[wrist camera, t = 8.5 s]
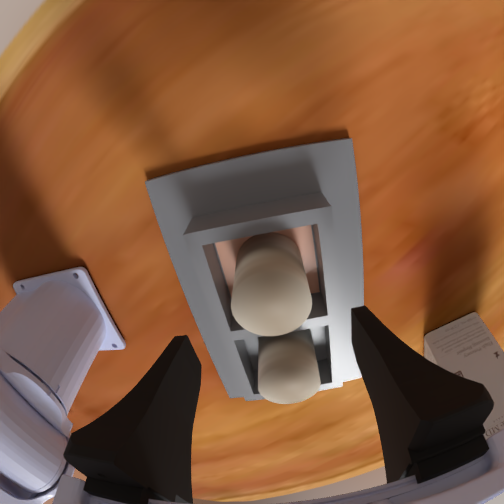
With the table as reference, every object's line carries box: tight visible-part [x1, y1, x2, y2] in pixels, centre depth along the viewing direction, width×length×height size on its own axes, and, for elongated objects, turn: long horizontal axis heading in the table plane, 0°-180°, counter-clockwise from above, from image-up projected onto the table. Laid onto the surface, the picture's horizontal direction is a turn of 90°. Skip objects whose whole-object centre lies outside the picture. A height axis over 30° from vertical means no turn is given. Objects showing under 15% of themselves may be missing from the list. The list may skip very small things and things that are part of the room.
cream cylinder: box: [231, 232, 312, 336], centre depth 17 cm, size 4×4×4 cm
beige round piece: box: [258, 329, 321, 404], centre depth 20 cm, size 4×4×4 cm
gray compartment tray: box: [145, 138, 364, 401], centre depth 20 cm, size 12×20×3 cm, turn 12°
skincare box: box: [424, 312, 504, 439], centre depth 18 cm, size 6×4×12 cm
